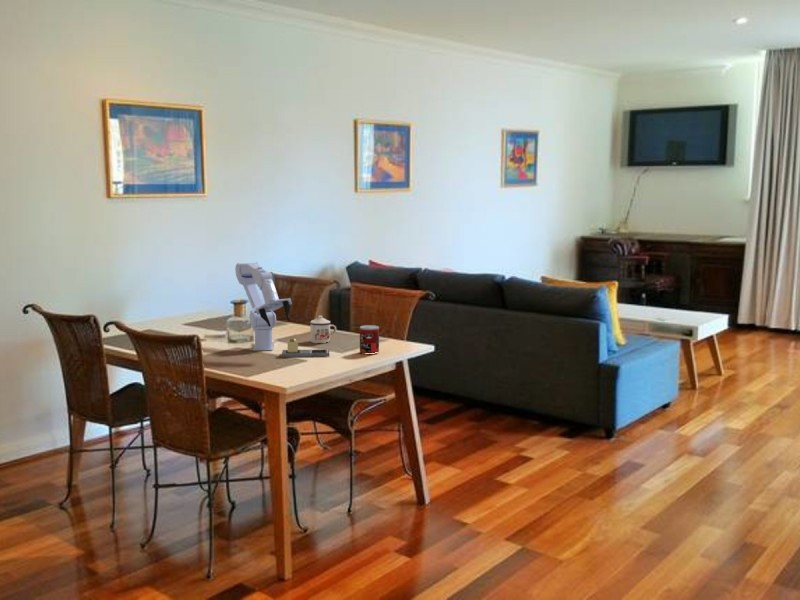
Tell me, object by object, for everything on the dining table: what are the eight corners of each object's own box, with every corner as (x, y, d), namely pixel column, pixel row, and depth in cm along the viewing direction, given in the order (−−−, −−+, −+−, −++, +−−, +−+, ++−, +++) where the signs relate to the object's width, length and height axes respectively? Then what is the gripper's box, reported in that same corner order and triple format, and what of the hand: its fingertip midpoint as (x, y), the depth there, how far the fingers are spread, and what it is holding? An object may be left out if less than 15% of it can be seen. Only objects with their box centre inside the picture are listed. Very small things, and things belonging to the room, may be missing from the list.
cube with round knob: (288, 354, 321) (287, 338, 320) (298, 354, 321) (297, 337, 320) (287, 356, 317) (287, 339, 316) (297, 356, 317) (297, 339, 316)
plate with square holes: (282, 353, 322) (282, 349, 322) (329, 353, 324) (329, 349, 324) (281, 357, 315) (281, 353, 315) (329, 356, 317) (329, 352, 317)
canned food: (356, 352, 325) (356, 326, 324) (371, 350, 330) (371, 324, 329) (367, 355, 319) (367, 329, 318) (382, 353, 324) (382, 327, 323)
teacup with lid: (314, 344, 341) (314, 318, 339) (307, 340, 349) (306, 314, 347) (339, 342, 346) (339, 316, 345) (332, 338, 354) (332, 313, 353)
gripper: (251, 295, 314) (259, 322, 306) (286, 285, 316) (294, 310, 308) (254, 305, 319) (262, 332, 312) (289, 295, 322) (297, 320, 314)
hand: (278, 322), depth 310 cm, fingers open, 7 cm apart
